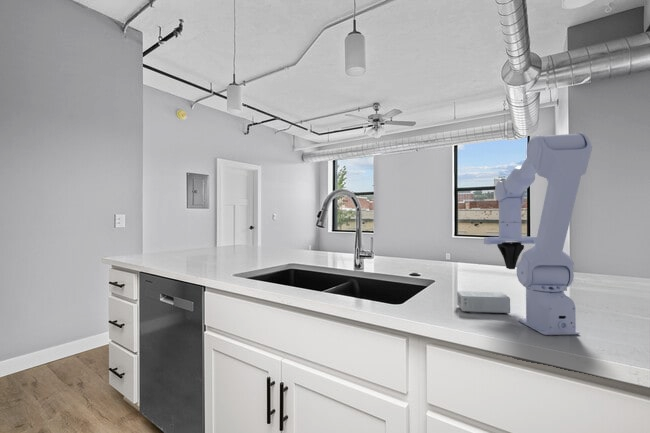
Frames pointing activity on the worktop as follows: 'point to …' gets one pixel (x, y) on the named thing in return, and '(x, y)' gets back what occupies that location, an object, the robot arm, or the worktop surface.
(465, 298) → the skincare box
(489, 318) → the worktop surface
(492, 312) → the mat
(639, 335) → the worktop surface
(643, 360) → the worktop surface
